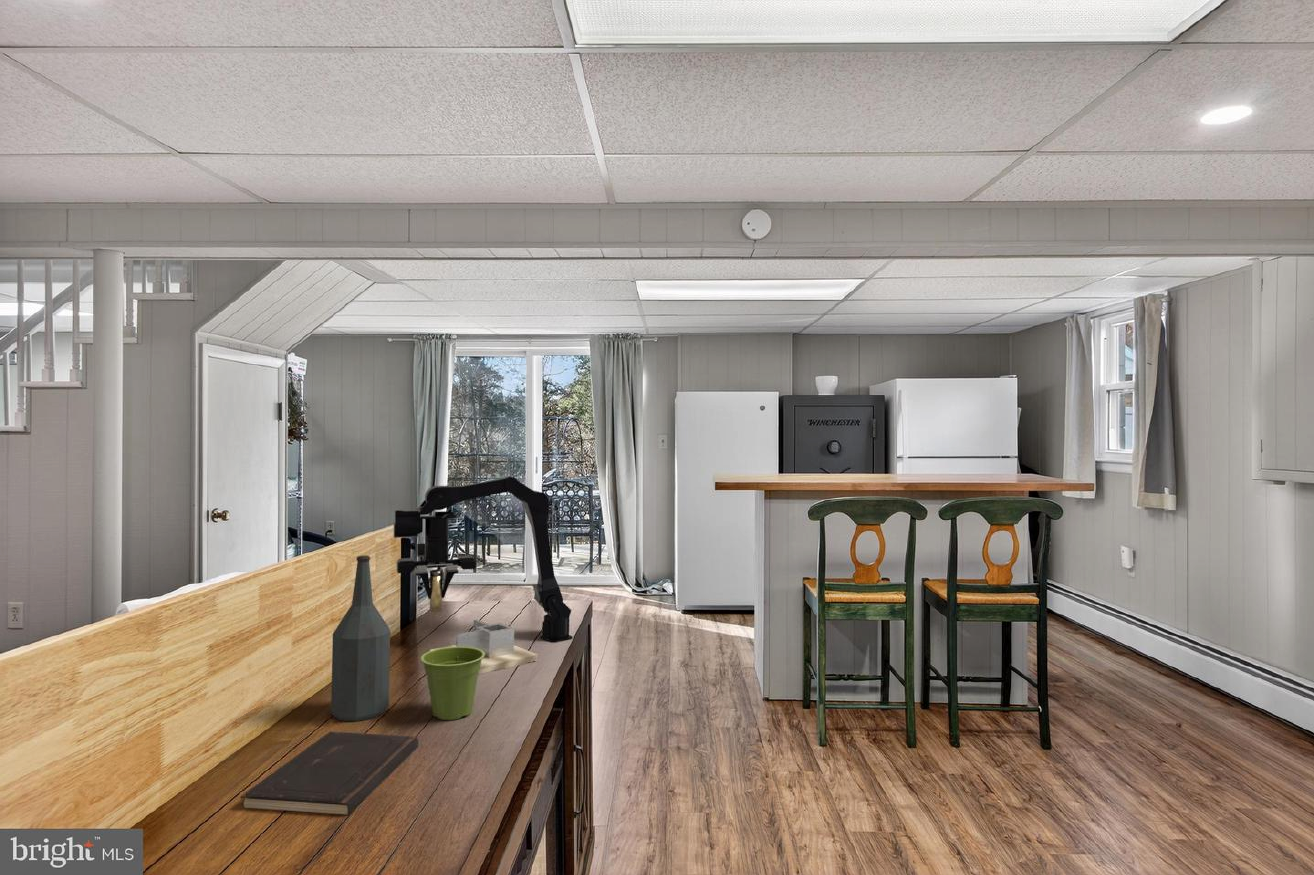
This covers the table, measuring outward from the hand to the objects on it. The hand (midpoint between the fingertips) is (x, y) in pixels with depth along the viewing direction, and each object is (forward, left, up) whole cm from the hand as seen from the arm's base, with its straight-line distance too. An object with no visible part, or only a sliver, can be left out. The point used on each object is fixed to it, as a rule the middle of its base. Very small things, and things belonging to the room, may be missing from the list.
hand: (436, 598), depth 181 cm
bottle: (+30, +31, -13) cm, 45 cm away
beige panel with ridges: (-5, +15, -13) cm, 20 cm away
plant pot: (+17, +43, -13) cm, 48 cm away
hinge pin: (0, 0, -3) cm, 3 cm away
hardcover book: (+42, +55, -14) cm, 70 cm away
